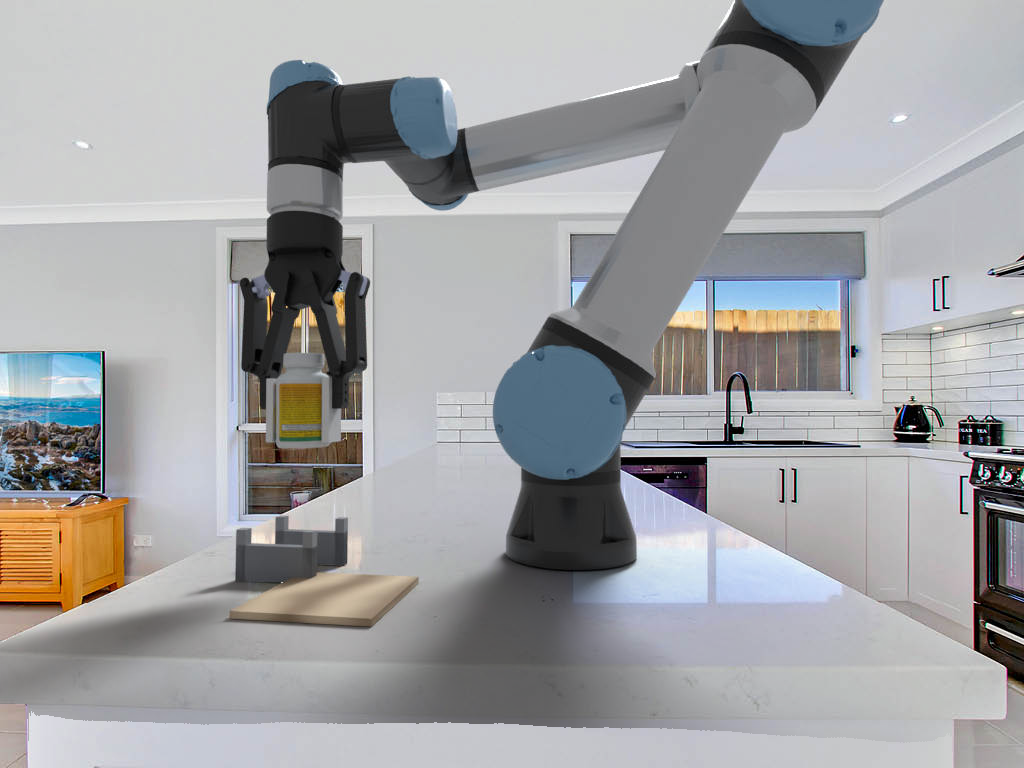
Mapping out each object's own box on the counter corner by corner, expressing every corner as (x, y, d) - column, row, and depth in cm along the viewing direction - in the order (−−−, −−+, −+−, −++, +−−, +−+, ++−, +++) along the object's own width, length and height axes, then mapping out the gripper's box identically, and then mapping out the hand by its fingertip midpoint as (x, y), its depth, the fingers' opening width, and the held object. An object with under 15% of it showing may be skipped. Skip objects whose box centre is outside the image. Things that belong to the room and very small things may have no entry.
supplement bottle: (269, 447, 63) (269, 354, 63) (320, 444, 66) (320, 356, 66) (285, 450, 58) (285, 350, 59) (339, 446, 62) (338, 353, 62)
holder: (347, 563, 66) (347, 517, 66) (311, 584, 58) (312, 532, 58) (279, 560, 67) (280, 515, 68) (235, 580, 59) (236, 529, 60)
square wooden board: (418, 583, 59) (418, 576, 59) (371, 626, 47) (371, 618, 47) (302, 577, 60) (302, 571, 60) (229, 618, 49) (229, 610, 49)
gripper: (402, 224, 65) (401, 440, 64) (247, 234, 68) (244, 440, 67) (374, 200, 58) (373, 443, 57) (202, 213, 61) (198, 443, 60)
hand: (303, 441), depth 62 cm, fingers closed on supplement bottle, 5 cm apart
